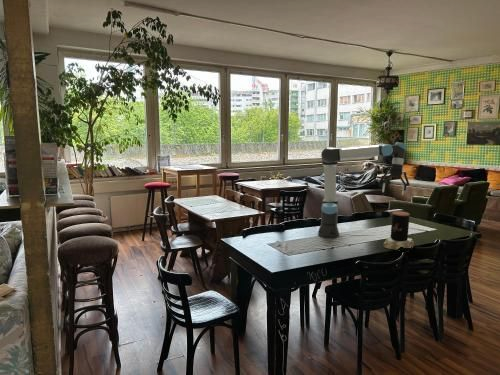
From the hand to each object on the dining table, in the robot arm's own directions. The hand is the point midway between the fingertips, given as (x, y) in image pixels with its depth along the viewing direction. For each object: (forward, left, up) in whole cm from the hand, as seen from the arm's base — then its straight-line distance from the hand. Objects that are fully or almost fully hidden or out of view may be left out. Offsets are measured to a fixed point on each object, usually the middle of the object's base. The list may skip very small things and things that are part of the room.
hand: (392, 193), depth 264 cm
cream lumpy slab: (+10, -21, -32) cm, 40 cm away
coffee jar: (+10, -20, -27) cm, 36 cm away
